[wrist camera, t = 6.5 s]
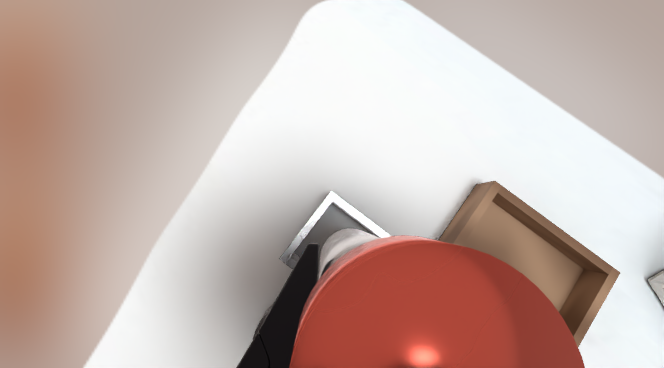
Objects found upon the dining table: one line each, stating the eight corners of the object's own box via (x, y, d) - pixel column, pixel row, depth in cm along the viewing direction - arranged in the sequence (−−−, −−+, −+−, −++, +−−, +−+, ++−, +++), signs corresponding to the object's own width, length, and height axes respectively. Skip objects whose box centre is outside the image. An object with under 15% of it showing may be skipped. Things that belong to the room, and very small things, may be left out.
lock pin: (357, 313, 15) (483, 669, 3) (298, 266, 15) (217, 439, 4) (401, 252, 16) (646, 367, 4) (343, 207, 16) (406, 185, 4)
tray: (517, 385, 21) (543, 408, 19) (400, 295, 22) (410, 306, 19) (587, 266, 23) (620, 272, 20) (476, 184, 23) (495, 180, 21)
